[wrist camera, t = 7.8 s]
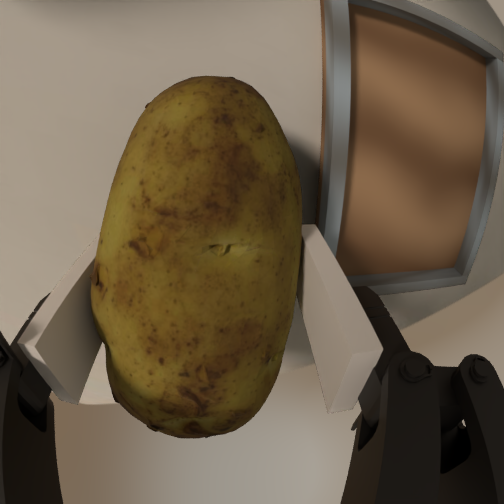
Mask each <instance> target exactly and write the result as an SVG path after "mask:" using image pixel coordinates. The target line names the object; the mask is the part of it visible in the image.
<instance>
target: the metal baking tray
mask: <svg viewBox="0 0 504 504" xmlns="http://www.w3.org/2000/svg"><path fill="white" fill-rule="evenodd" d="M320 4H321V24H322V61H323V91H322V132H321V154H320V171H319V186H318V199H317V211H316V222H315V225H316V226H317V228H318V230H319V231H320V233H321V235H322V236H323V238H324V240H325V241H326V243H327V245H328V247H329V248H330V250H331V252H332V253H333V255H334V257H335V259H336V260H337V262H338V264H339V266H340V267H341V269H342V271H343V273H344V274H345V276H346V278H347V280H348V282H349V283H350V285H351V287H357V286H367V287H369V288H370V289H371V290H372V291H374V292H375V293H376V294H378V295H386V294H395V293H404V292H412V291H420V290H428V289H435V288H442V287H449V286H456V285H462V284H465V283H466V281H467V278H468V276H469V273H470V271H471V268H472V265H473V263H474V260H475V257H476V254H477V251H478V249H479V246H480V242H481V239H482V236H483V233H484V230H485V226H486V223H487V219H488V215H489V212H490V208H491V204H492V199H493V195H494V190H495V186H496V180H497V175H498V169H499V163H500V156H501V149H502V140H503V128H504V61H503V52H501V51H500V50H499V49H497V48H496V47H494V46H493V45H491V44H490V43H488V42H487V41H485V40H484V39H482V38H481V37H479V36H478V35H476V34H474V33H473V32H471V31H469V30H468V29H466V28H464V27H462V26H461V25H459V24H457V23H455V22H453V21H451V20H449V19H447V18H445V17H443V16H441V15H439V14H437V13H435V12H433V11H431V10H429V9H426V8H424V7H422V6H420V5H417V4H415V3H412V2H410V1H407V0H320Z"/></svg>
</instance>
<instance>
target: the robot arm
mask: <svg viewBox="0 0 504 504" xmlns="http://www.w3.org/2000/svg"><path fill="white" fill-rule="evenodd" d="M99 236H100V234H99V235H98V236H97V237H96V238H95V240H94V241H93V242H92V243H91V244H90V245H89V246H88V248H87V249H86V250H85V251H84V252H83V253H82V255H81V256H80V257H79V258H78V259H77V260H76V262H75V263H74V264H73V265H72V267H71V268H70V269H69V270H68V271H67V273H66V274H65V275H64V277H63V278H62V279H61V280H60V282H59V283H58V284H57V286H56V287H55V288H54V289H53V291H52V292H50V293H49V294H48V295H47V296H46V297H44V298H43V299H42V300H41V301H40V302H39V303H38V305H37V306H36V308H35V309H34V312H32V313H31V315H30V316H29V319H28V320H26V322H25V323H24V325H23V326H22V328H21V329H20V331H19V332H18V334H17V336H16V337H15V339H14V340H13V342H12V343H11V345H10V346H9V344H8V342H7V341H6V339H5V338H4V336H3V335H2V333H1V331H0V504H63V500H62V494H61V489H60V483H59V476H58V468H57V459H56V447H55V430H54V405H53V402H52V401H51V399H50V398H49V396H50V393H51V391H53V392H54V393H55V394H56V396H57V397H58V398H59V399H60V400H61V401H66V402H69V403H73V404H77V405H78V403H79V400H80V397H81V395H82V392H83V389H84V386H85V384H86V381H87V378H88V376H89V373H90V371H91V368H92V366H93V363H94V361H95V358H96V356H97V354H98V351H99V349H100V346H101V344H102V342H103V341H102V340H101V339H100V337H99V335H98V332H97V330H96V327H95V324H94V320H93V316H92V311H91V283H92V281H91V279H90V277H89V275H90V274H91V273H92V272H93V268H94V263H95V257H96V252H97V246H98V241H99ZM296 288H297V291H296V295H297V298H298V302H299V305H300V309H301V312H302V316H303V320H304V323H305V327H306V331H307V334H308V338H309V342H310V345H311V349H312V353H313V357H314V361H315V364H316V368H317V372H318V376H319V380H320V383H321V387H322V392H323V396H324V400H325V404H326V408H327V412H328V413H334V412H340V411H346V410H351V409H353V408H354V406H355V404H356V402H357V400H359V403H360V406H361V410H362V411H361V413H360V414H359V416H358V417H357V419H356V420H355V422H354V423H353V426H352V428H351V430H355V429H356V427H357V429H356V435H355V441H354V447H353V452H352V457H351V462H350V467H349V471H348V476H347V480H346V484H345V489H344V492H343V496H342V500H341V504H504V388H503V386H502V383H501V381H500V379H499V377H498V375H497V373H496V371H495V369H494V367H493V366H492V364H491V363H490V361H488V360H487V359H486V358H485V357H483V356H480V355H477V354H470V355H468V356H466V357H465V358H464V359H463V360H462V362H461V363H460V365H459V366H458V367H441V366H434V365H433V364H432V363H431V362H430V360H429V359H428V358H426V357H425V356H423V355H422V354H420V353H416V352H412V351H411V350H410V349H409V347H408V345H407V343H406V342H405V340H404V338H403V336H402V335H401V333H400V331H399V329H398V327H397V326H396V324H395V322H394V321H393V319H392V317H390V314H389V312H388V311H387V309H386V308H385V307H384V304H383V302H382V301H381V299H380V297H379V296H378V294H376V293H375V292H374V291H372V290H371V289H370V288H369V287H367V286H357V287H351V285H350V283H349V282H348V280H347V278H346V276H345V274H344V273H343V271H342V269H341V267H340V266H339V264H338V262H337V260H336V259H335V257H334V255H333V253H332V252H331V250H330V248H329V247H328V245H327V243H326V241H325V240H324V238H323V236H322V235H321V233H320V231H319V230H318V228H317V226H316V225H315V224H304V225H302V243H301V254H300V264H299V273H298V280H297V287H296ZM463 419H464V421H465V425H466V427H465V426H464V425H463V423H462V420H463Z"/></svg>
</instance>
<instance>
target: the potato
mask: <svg viewBox="0 0 504 504" xmlns="http://www.w3.org/2000/svg"><path fill="white" fill-rule="evenodd" d="M301 243H302V194H301V185H300V178H299V173H298V168H297V165H296V162H295V159H294V156H293V154H292V151H291V149H290V146H289V144H288V142H287V139H286V137H285V135H284V133H283V130H282V128H281V126H280V124H279V122H278V120H277V118H276V117H275V115H274V113H273V111H272V110H271V108H270V106H269V105H268V103H267V102H266V100H265V99H264V97H263V96H261V95H260V94H259V93H258V92H257V91H256V90H255V89H254V88H253V87H252V86H250V85H248V84H246V83H244V82H243V81H240V80H237V79H235V78H234V77H218V76H199V77H191V78H189V79H186V80H184V81H181V82H178V83H176V84H174V85H173V86H171V87H169V88H168V89H166V90H164V91H163V92H162V93H160V94H159V95H158V96H157V97H155V98H154V99H153V101H152V102H150V103H148V104H147V105H146V106H145V111H144V112H143V113H142V115H141V116H140V118H139V119H138V121H137V123H136V125H135V127H134V129H133V131H132V133H131V135H130V137H129V140H128V142H127V145H126V148H125V150H124V152H123V155H122V157H121V160H120V162H119V165H118V168H117V171H116V174H115V177H114V180H113V183H112V186H111V190H110V194H109V198H108V202H107V206H106V210H105V214H104V218H103V223H102V227H101V232H100V236H99V241H98V246H97V252H96V257H95V263H94V268H93V272H92V273H91V274H90V275H89V277H90V279H91V281H92V283H91V311H92V316H93V320H94V324H95V327H96V330H97V332H98V335H99V337H100V339H101V340H102V341H103V343H104V344H105V349H106V369H107V374H108V379H109V384H110V387H111V390H112V394H113V398H114V400H115V402H117V403H120V404H121V405H122V406H123V407H124V408H125V409H126V410H127V411H128V412H129V413H130V414H131V415H132V416H134V417H135V418H137V419H138V420H140V421H141V422H143V423H144V424H146V425H147V427H148V428H149V429H151V430H153V431H155V432H156V431H160V432H162V433H164V434H167V435H171V436H174V437H177V438H202V437H205V438H207V437H210V436H216V435H221V434H226V433H229V432H232V431H235V430H237V429H238V428H240V427H241V426H243V425H244V424H246V423H247V422H248V421H249V420H251V419H252V417H254V416H255V414H256V413H257V412H258V411H259V410H260V409H261V407H262V406H263V404H264V403H265V401H266V399H267V397H268V395H269V394H270V392H271V390H272V388H273V386H274V383H275V381H276V379H277V376H278V374H279V370H280V367H281V363H282V357H283V354H284V350H285V344H286V341H287V338H288V334H289V330H290V327H291V323H292V319H293V312H294V305H295V298H296V291H297V288H296V287H297V280H298V273H299V264H300V254H301Z"/></svg>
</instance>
